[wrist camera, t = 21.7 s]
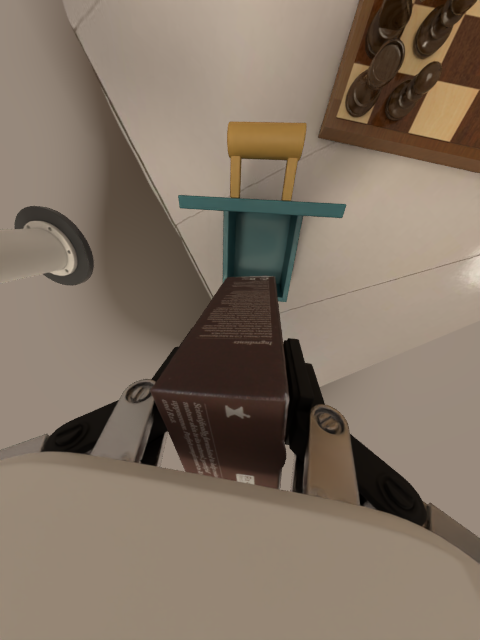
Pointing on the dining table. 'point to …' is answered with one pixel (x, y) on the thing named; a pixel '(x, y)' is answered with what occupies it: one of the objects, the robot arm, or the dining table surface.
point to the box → (230, 387)
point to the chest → (261, 246)
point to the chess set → (411, 82)
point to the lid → (270, 145)
